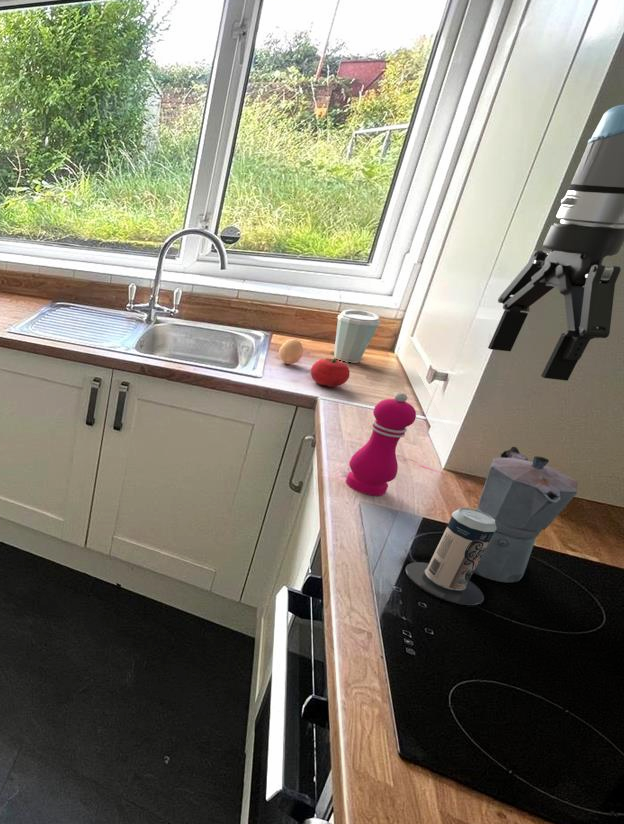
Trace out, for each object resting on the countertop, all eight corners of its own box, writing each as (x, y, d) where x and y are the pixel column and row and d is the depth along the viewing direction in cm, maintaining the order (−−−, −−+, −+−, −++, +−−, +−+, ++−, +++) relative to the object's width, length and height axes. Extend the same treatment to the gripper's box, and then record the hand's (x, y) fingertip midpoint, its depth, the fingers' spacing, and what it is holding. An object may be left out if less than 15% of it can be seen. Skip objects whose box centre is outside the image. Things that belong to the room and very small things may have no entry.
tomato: (350, 387, 160) (360, 360, 157) (336, 393, 156) (346, 365, 152) (315, 376, 167) (324, 350, 164) (301, 382, 162) (309, 355, 159)
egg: (273, 363, 176) (280, 338, 173) (279, 358, 180) (286, 334, 177) (295, 368, 172) (303, 343, 169) (301, 364, 176) (309, 339, 173)
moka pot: (466, 585, 87) (525, 471, 80) (423, 527, 101) (470, 424, 93) (547, 603, 84) (617, 487, 77) (492, 541, 98) (547, 436, 90)
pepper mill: (342, 473, 117) (377, 382, 109) (387, 485, 113) (426, 392, 105) (342, 488, 111) (378, 393, 104) (389, 502, 108) (430, 405, 100)
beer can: (461, 597, 84) (497, 530, 80) (420, 579, 88) (451, 513, 83) (467, 583, 87) (501, 517, 83) (426, 566, 91) (458, 501, 86)
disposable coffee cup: (367, 368, 175) (384, 320, 169) (324, 360, 180) (340, 314, 174) (364, 358, 183) (381, 312, 177) (323, 351, 188) (338, 306, 183)
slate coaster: (495, 596, 86) (496, 594, 85) (463, 614, 82) (464, 611, 82) (424, 558, 93) (425, 556, 93) (392, 573, 89) (393, 571, 89)
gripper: (505, 213, 94) (454, 336, 103) (625, 233, 72) (547, 388, 81) (564, 216, 92) (506, 342, 101) (705, 238, 70) (617, 397, 79)
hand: (524, 363), depth 91 cm, fingers open, 13 cm apart
